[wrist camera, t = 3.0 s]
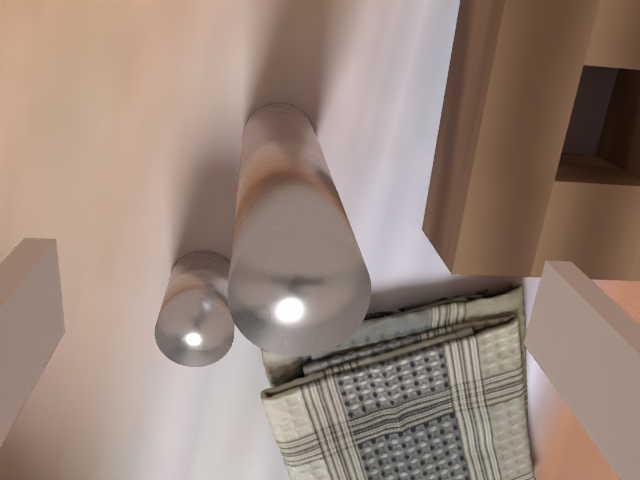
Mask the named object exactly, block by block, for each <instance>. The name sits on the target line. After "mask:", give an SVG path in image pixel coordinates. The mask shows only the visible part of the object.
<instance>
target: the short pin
mask: <svg viewBox="0 0 640 480" xmlns="http://www.w3.org/2000/svg"><path fill="white" fill-rule="evenodd" d="M229 273H230V262H229V261H228V260H227V259H226V258H224V257H223V256H221V255H219V254H217V253H214V252H210V251H197V252H192V253H190V254H187V255H185V256H184V257H182V258H181V259H180V260H179V261H178V262H177V263H176V264H175V266H174V268H173V270H172V273H171V276H170V279H169V283H168V286H167V289H166V293H165V296H164V299H163V303H162V306H161V310H160V313H159V316H158V320H157V323H156V327H155V339H156V343H157V345H158V347H159V349H160V350H161V352H162V353H163V354H164V355H165V356H166V357H167V358H169V359H170V360H172V361H174V362H175V363H178V364H181V365H184V366H189V367H201V366H206V365H210V364H212V363H215V362H216V361H218V360H220V359H221V358H222V357H223V356H225V355H226V353H227V352H228V351H229V349H230V348H231V345H232V343H233V338H234V325H235V323H234V321H233V319H232V316H231V314H230V311H229V306H228V296H227V293H228V283H229Z"/></svg>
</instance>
